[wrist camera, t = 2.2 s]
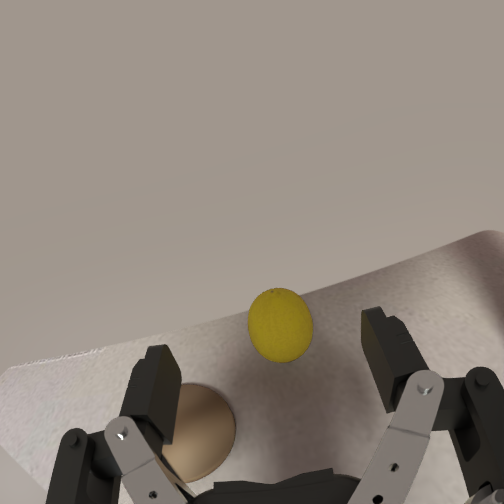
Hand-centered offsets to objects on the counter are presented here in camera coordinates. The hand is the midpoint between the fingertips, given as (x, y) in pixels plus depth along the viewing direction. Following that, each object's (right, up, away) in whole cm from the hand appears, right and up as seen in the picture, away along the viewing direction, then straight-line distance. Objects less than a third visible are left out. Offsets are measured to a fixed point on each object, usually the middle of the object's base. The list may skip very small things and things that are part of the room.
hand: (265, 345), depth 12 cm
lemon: (+3, -6, +17) cm, 18 cm away
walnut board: (-7, -12, +11) cm, 17 cm away
